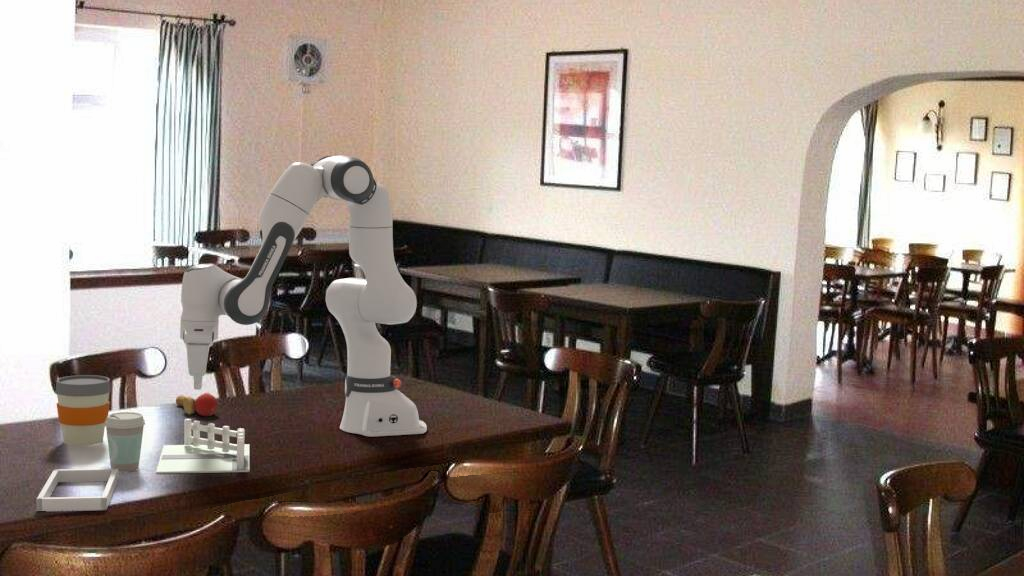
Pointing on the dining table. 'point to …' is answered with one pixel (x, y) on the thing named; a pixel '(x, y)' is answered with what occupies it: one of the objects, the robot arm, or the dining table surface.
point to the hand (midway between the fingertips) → (197, 388)
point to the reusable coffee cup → (83, 408)
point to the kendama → (198, 404)
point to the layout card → (199, 459)
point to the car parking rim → (77, 503)
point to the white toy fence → (209, 435)
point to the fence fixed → (240, 449)
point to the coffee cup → (124, 440)
